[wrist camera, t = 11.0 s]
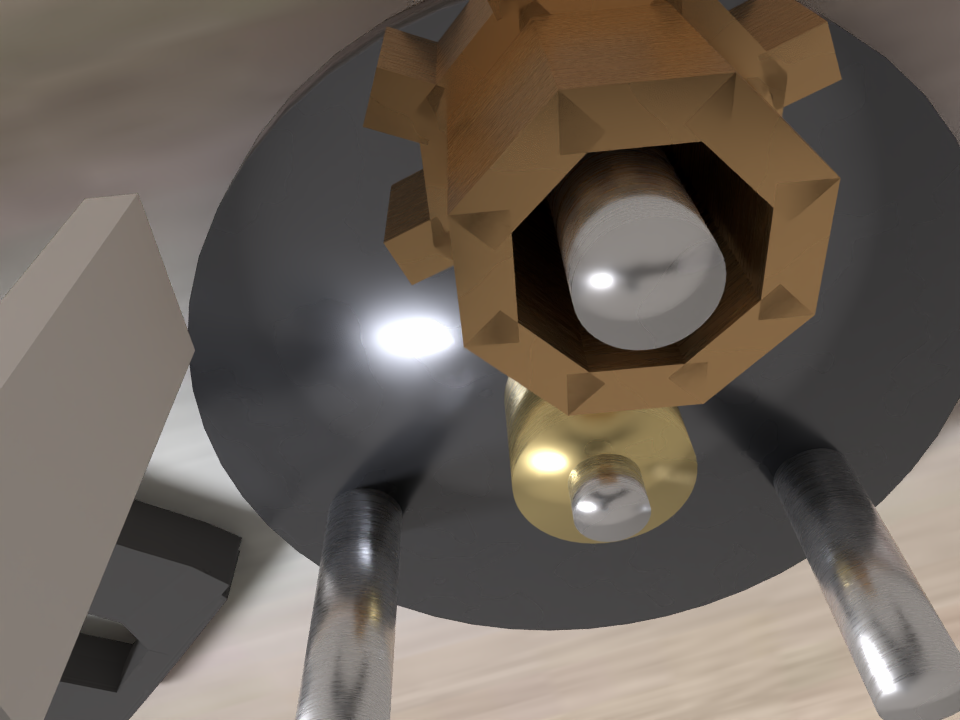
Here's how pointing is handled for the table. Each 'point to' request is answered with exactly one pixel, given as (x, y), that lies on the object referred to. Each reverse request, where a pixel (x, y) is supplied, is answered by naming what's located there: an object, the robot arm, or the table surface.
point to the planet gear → (601, 127)
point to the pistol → (146, 611)
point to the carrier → (590, 437)
